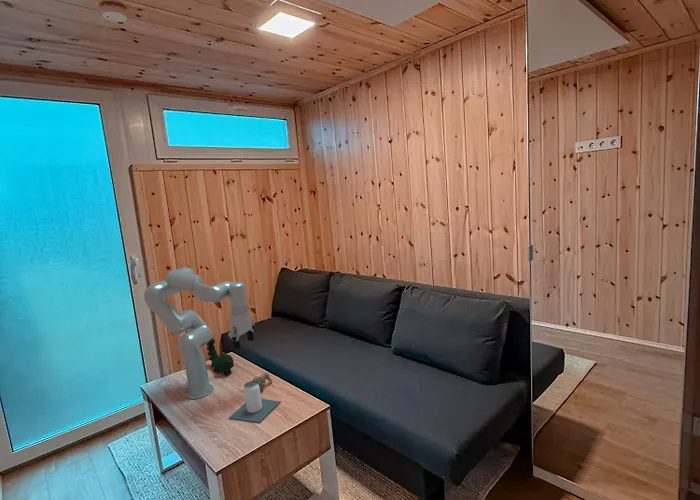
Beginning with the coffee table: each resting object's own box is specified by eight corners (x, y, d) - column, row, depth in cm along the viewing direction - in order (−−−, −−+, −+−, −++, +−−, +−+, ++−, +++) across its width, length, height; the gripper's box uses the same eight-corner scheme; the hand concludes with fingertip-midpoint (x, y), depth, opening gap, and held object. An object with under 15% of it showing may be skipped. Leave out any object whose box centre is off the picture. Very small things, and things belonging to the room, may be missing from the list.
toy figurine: (206, 372, 217) (224, 380, 198) (199, 340, 216) (217, 345, 197) (222, 365, 223) (241, 373, 204) (215, 334, 222) (234, 339, 203)
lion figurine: (262, 396, 179) (259, 378, 177) (251, 396, 180) (249, 379, 178) (274, 381, 193) (271, 364, 192) (264, 381, 194) (261, 364, 193)
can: (258, 413, 163) (254, 387, 162) (244, 413, 165) (240, 387, 163) (264, 405, 170) (260, 380, 168) (251, 405, 171) (247, 380, 169)
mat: (229, 418, 163) (228, 417, 163) (251, 398, 178) (251, 397, 178) (260, 423, 157) (259, 422, 157) (280, 402, 171) (280, 401, 171)
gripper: (245, 303, 184) (249, 336, 187) (219, 314, 169) (225, 351, 171) (258, 304, 181) (262, 338, 184) (233, 315, 166) (238, 353, 168)
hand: (244, 344), depth 177 cm, fingers open, 9 cm apart
